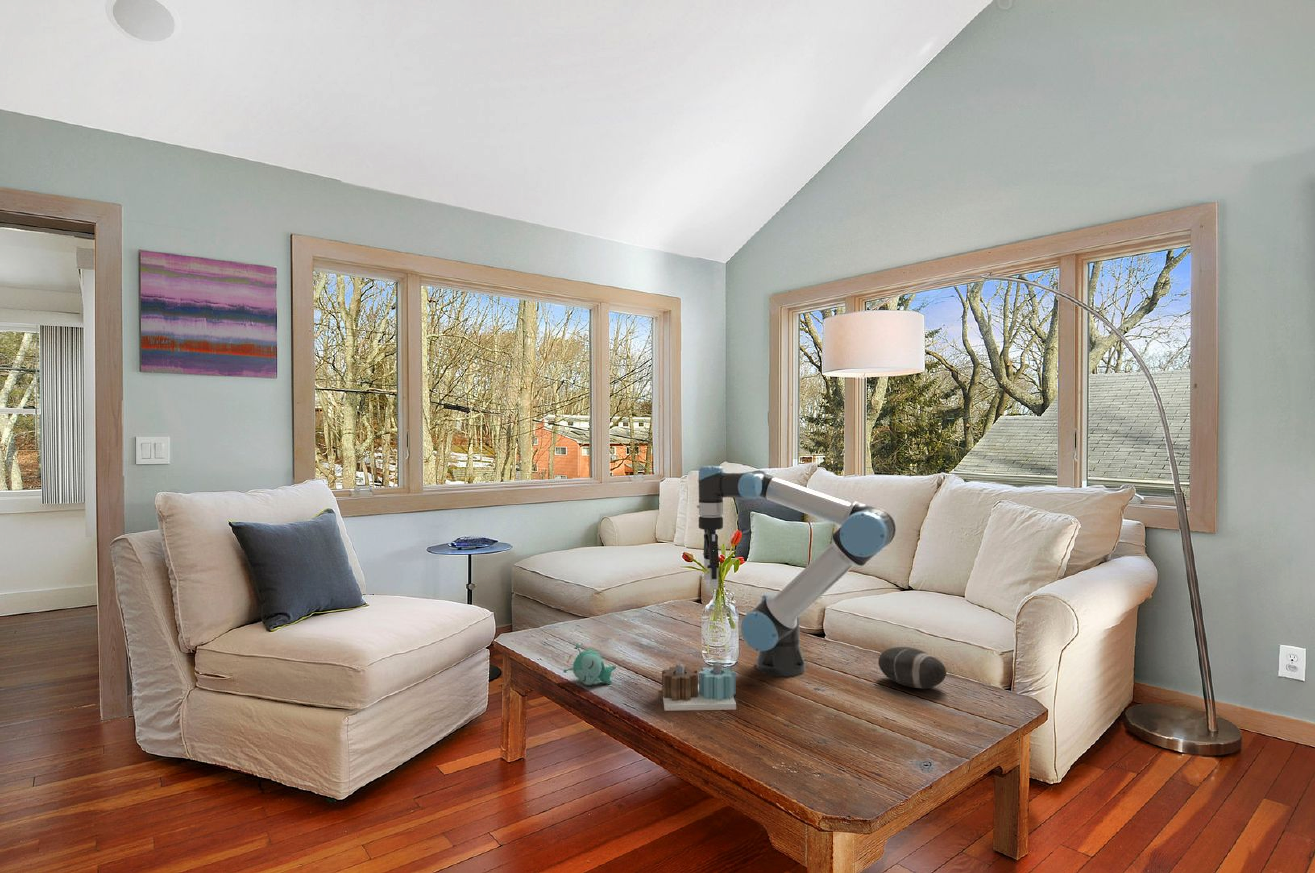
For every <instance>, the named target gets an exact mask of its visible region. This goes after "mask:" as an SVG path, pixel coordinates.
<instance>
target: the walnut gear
mask: <svg viewBox="0 0 1315 873" xmlns="http://www.w3.org/2000/svg"><path fill="white" fill-rule="evenodd" d="M698 684H699V673H698V670H697V669H695V668H689V667H688V666H684V675H676V668H675V666H670V667H669V668H668V669H662V671H661V694H662V695H661V696H662V698H663V697H664V698H671V699H672V701H677V700H680V699H682V700H685V701H688V700H691V698H693V697H697V696H698Z"/></svg>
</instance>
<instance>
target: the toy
mask: <svg viewBox="0 0 1315 873" xmlns="http://www.w3.org/2000/svg"><path fill="white" fill-rule="evenodd" d="M573 646H574V645H573ZM573 646H572V647H571V648H573ZM575 648H576V649H577V650H578V652H579V654H578V655H576V658H575V659H574V661H573V665H572V668H568V669H566V668H564V669H563V674H565V673H567V671H573V674H574V676H575V677H576V678H577V679H578V680H579V681H580V682H582V684H584V685H585V686H592V685H593V684H595V683H596V682H599V681H601V682H603V683H606V684H612V683H613V682H612V680H611V675H612V672H613V671H614V670H616V668H617V666H616V665H612V666H605V663H604V661H603V658H602V656H601V654H599V652H597V651H595V650H592V649H586V650H583V651H581V650H580V645H579V644H576V645H575ZM573 655H574V653H572V654H571V655H569V656H568V658H567V659H566V664H568V663H569V662H570V660H571V659H572V657H573Z"/></svg>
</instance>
